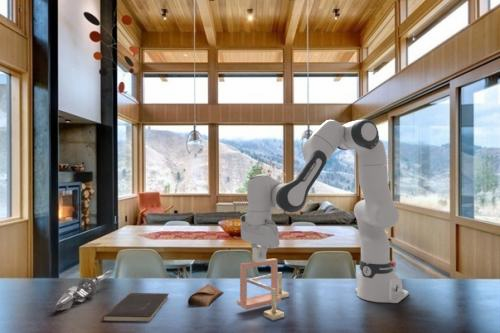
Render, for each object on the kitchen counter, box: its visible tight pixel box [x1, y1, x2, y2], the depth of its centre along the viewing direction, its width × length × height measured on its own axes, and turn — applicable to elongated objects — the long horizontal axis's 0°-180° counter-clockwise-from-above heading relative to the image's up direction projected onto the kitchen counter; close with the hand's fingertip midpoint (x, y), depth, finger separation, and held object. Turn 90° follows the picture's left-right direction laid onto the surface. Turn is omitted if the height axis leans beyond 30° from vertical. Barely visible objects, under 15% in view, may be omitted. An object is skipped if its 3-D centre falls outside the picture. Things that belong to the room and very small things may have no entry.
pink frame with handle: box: [236, 245, 282, 311], centre depth 127 cm, size 6×15×20 cm, turn 122°
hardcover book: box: [102, 292, 170, 322], centre depth 128 cm, size 16×23×2 cm
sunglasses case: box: [187, 283, 224, 308], centre depth 139 cm, size 18×7×7 cm
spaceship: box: [54, 269, 113, 311], centre depth 139 cm, size 8×35×8 cm
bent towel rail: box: [247, 271, 290, 321], centre depth 131 cm, size 21×19×10 cm
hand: (259, 256), depth 128 cm, fingers closed on pink frame with handle, 3 cm apart
